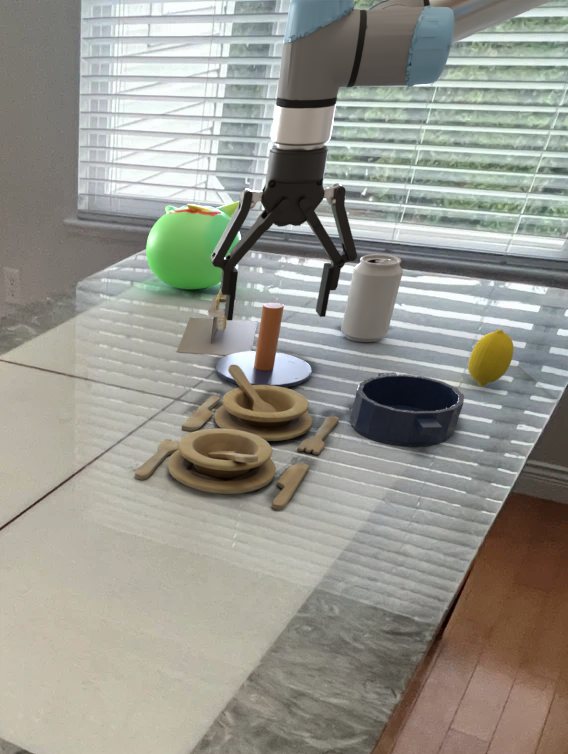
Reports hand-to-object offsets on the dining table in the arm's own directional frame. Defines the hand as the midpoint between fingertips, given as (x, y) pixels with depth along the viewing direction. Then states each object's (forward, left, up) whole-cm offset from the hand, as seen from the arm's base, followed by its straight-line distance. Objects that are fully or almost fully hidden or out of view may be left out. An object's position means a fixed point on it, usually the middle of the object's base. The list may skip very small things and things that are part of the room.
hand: (274, 316), depth 125 cm
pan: (-15, +20, -9) cm, 26 cm away
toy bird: (+5, -47, -9) cm, 48 cm away
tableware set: (+8, +26, -9) cm, 29 cm away
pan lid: (0, 0, -8) cm, 8 cm away
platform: (+4, -18, -9) cm, 21 cm away
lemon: (-31, +7, -9) cm, 33 cm away
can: (-20, -16, -9) cm, 27 cm away
